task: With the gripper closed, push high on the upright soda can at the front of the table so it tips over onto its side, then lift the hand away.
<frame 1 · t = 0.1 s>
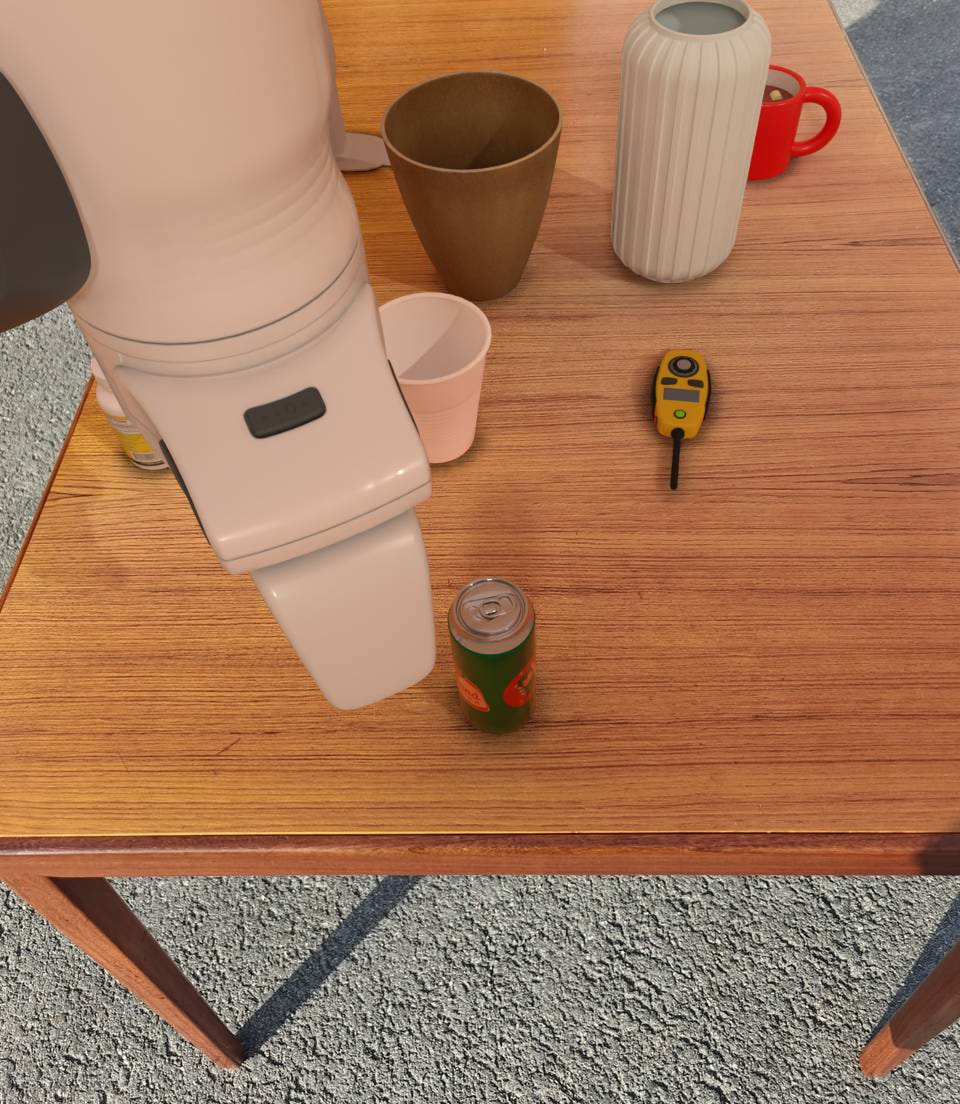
hand: (321, 569, 41), 23 cm above the table, tool pointing down, fingers open, 8 cm apart
pink piece: (345, 154, 102), on the table
soda can: (498, 705, 62), on the table
cup: (437, 440, 77), on the table
supplement bottle: (161, 449, 78), on the table
mug: (770, 160, 97), on the table
yellow walkie talkie: (677, 427, 76), on the table
plant pot: (481, 279, 88), on the table
vase: (669, 259, 89), on the table
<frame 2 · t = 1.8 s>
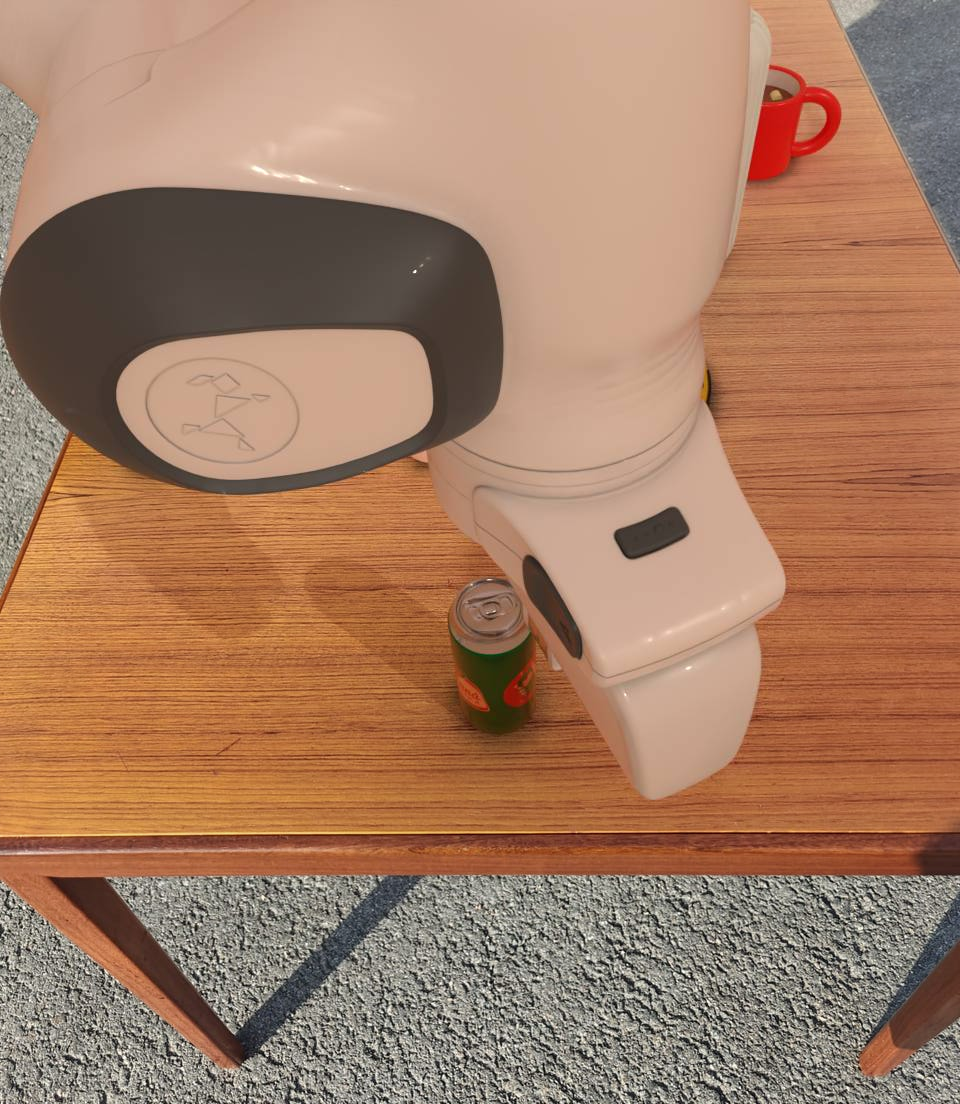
hand: (555, 640, 42), 20 cm above the table, tool pointing down, fingers closed
nothing on the table moved.
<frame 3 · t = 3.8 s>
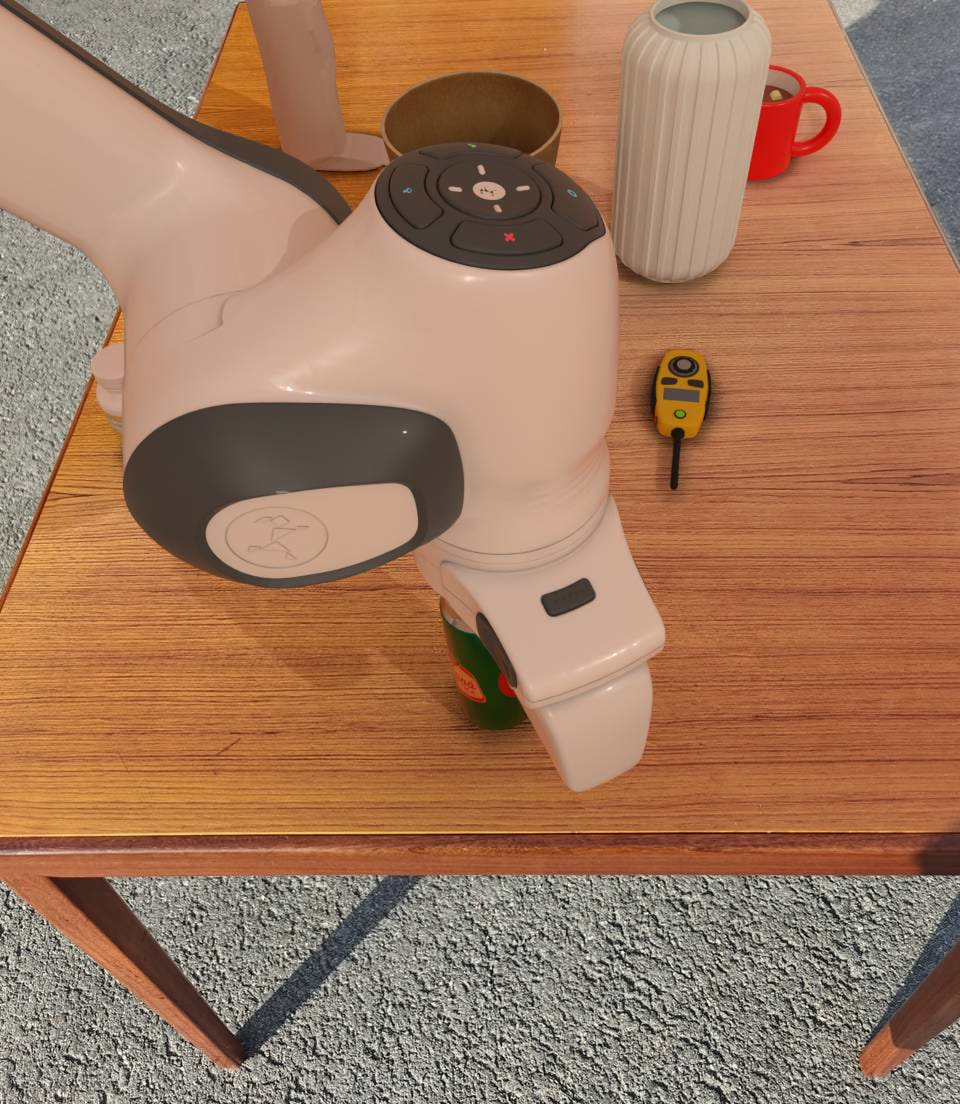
hand: (514, 665, 52), 10 cm above the table, tool pointing down, fingers closed
soda can: (498, 703, 62), on the table, touching gripper
everything else where it was.
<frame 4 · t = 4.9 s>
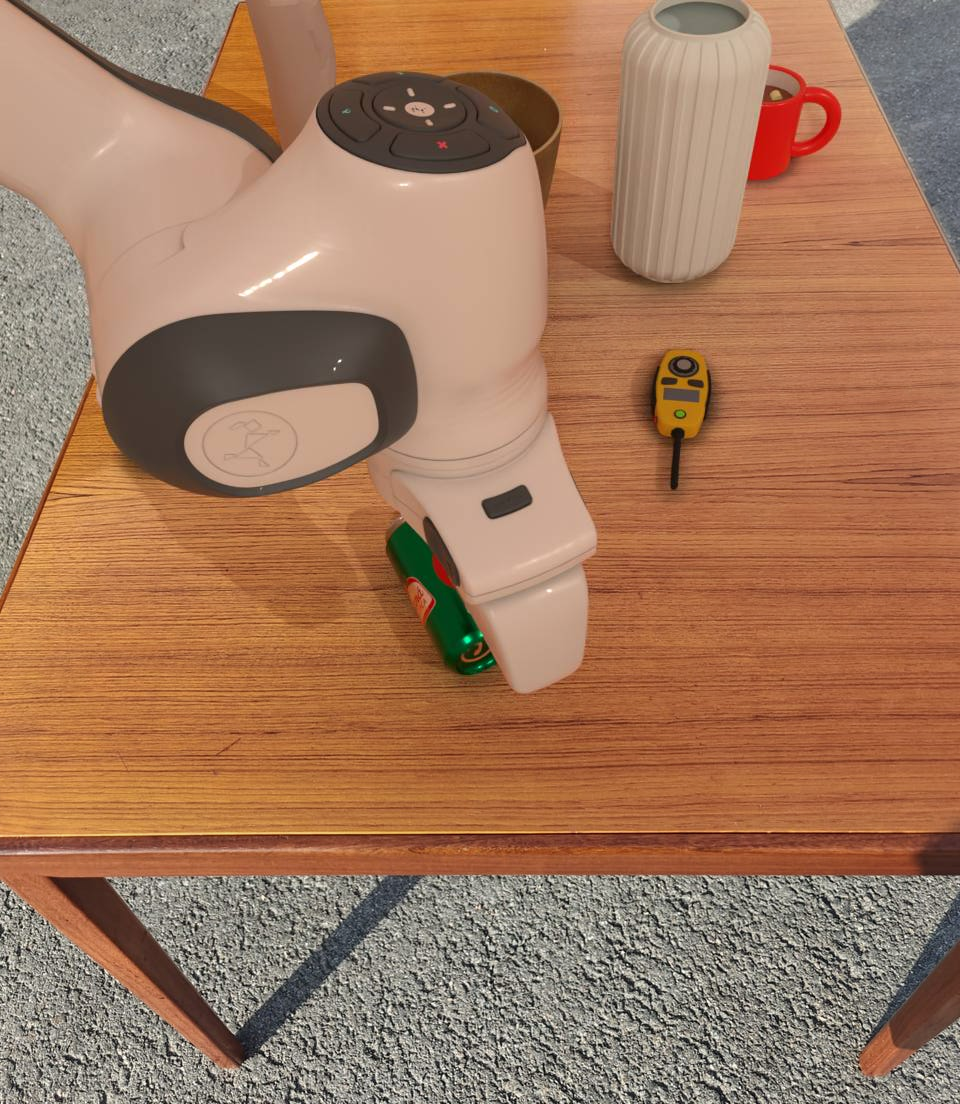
hand: (472, 592, 55), 10 cm above the table, tool pointing down, fingers closed
soda can: (483, 658, 61), point 3 cm above the table
everything else where it was.
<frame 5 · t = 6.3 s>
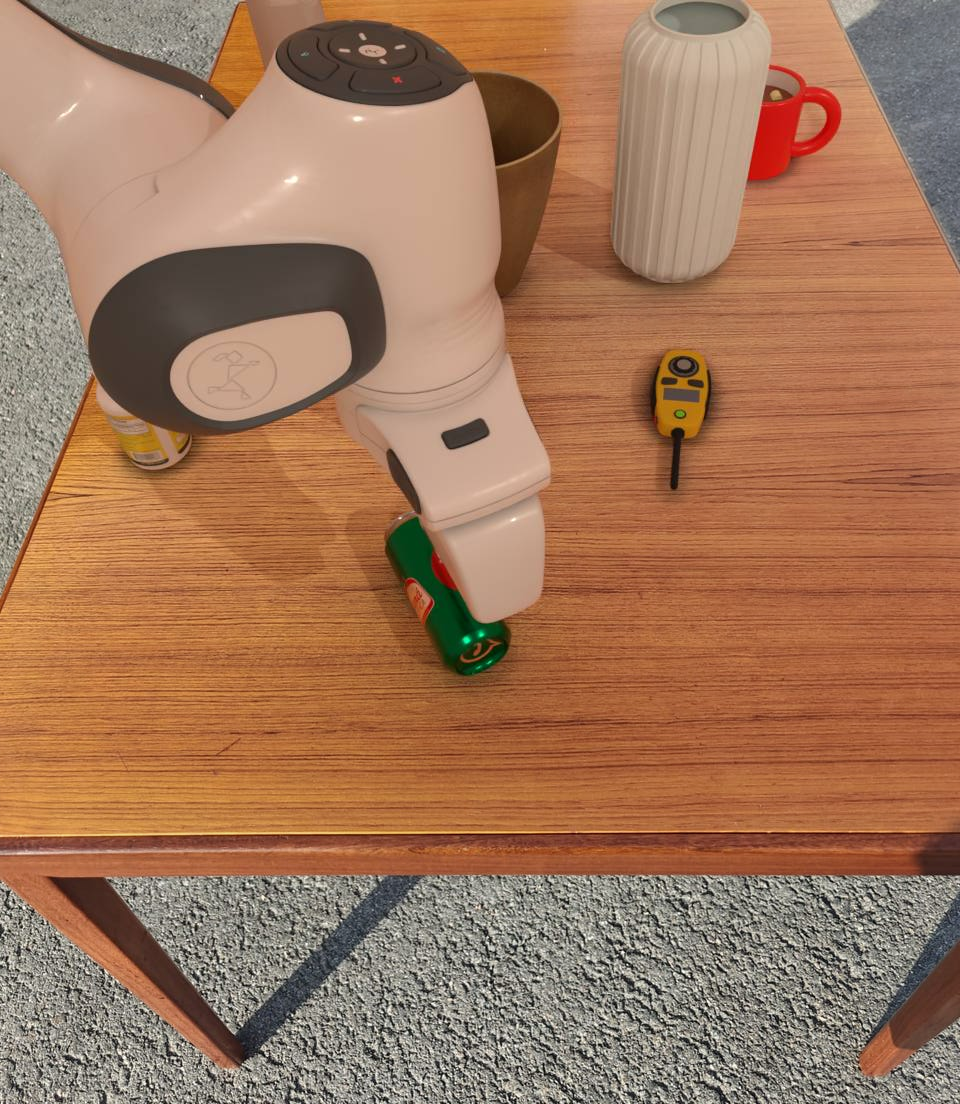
hand: (442, 539, 58), 10 cm above the table, tool pointing down, fingers closed
nothing on the table moved.
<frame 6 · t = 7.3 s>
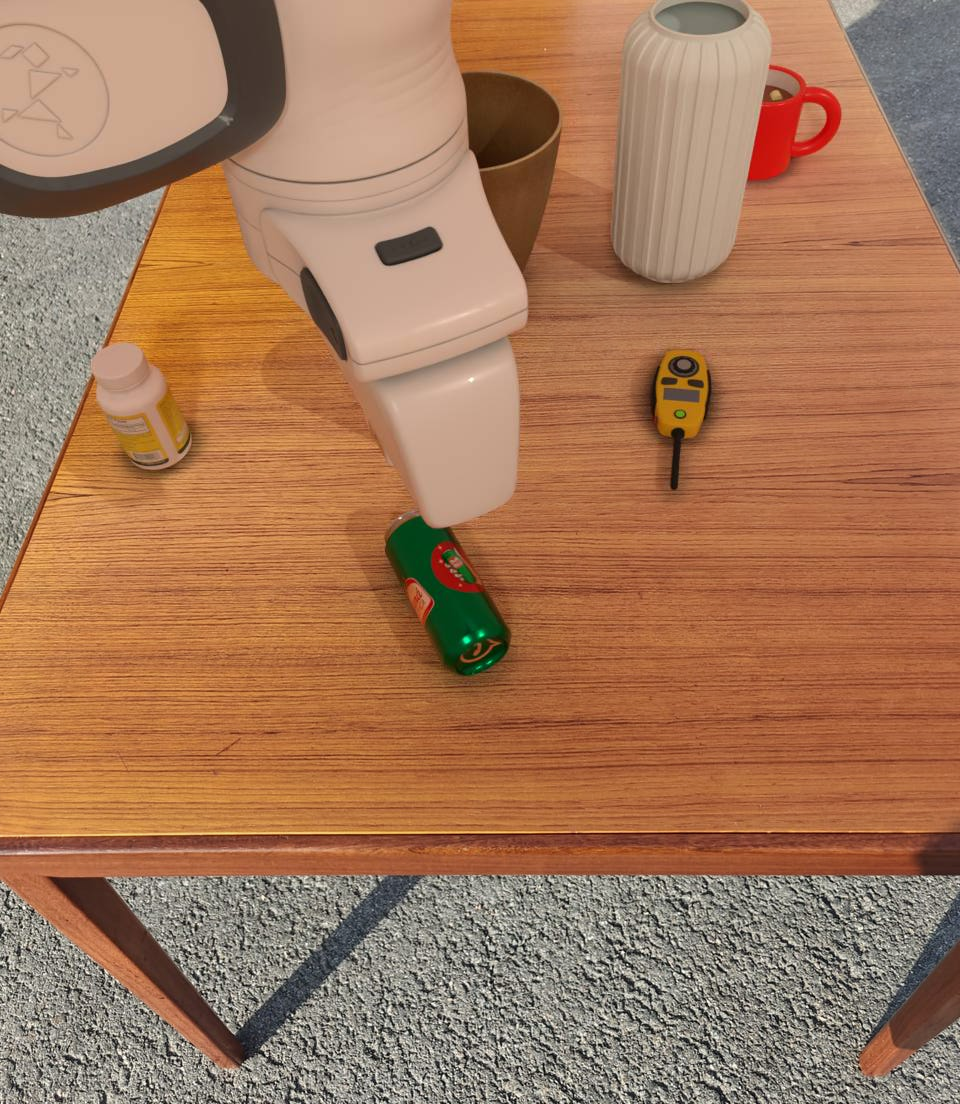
hand: (394, 443, 46), 23 cm above the table, tool pointing down, fingers closed
nothing on the table moved.
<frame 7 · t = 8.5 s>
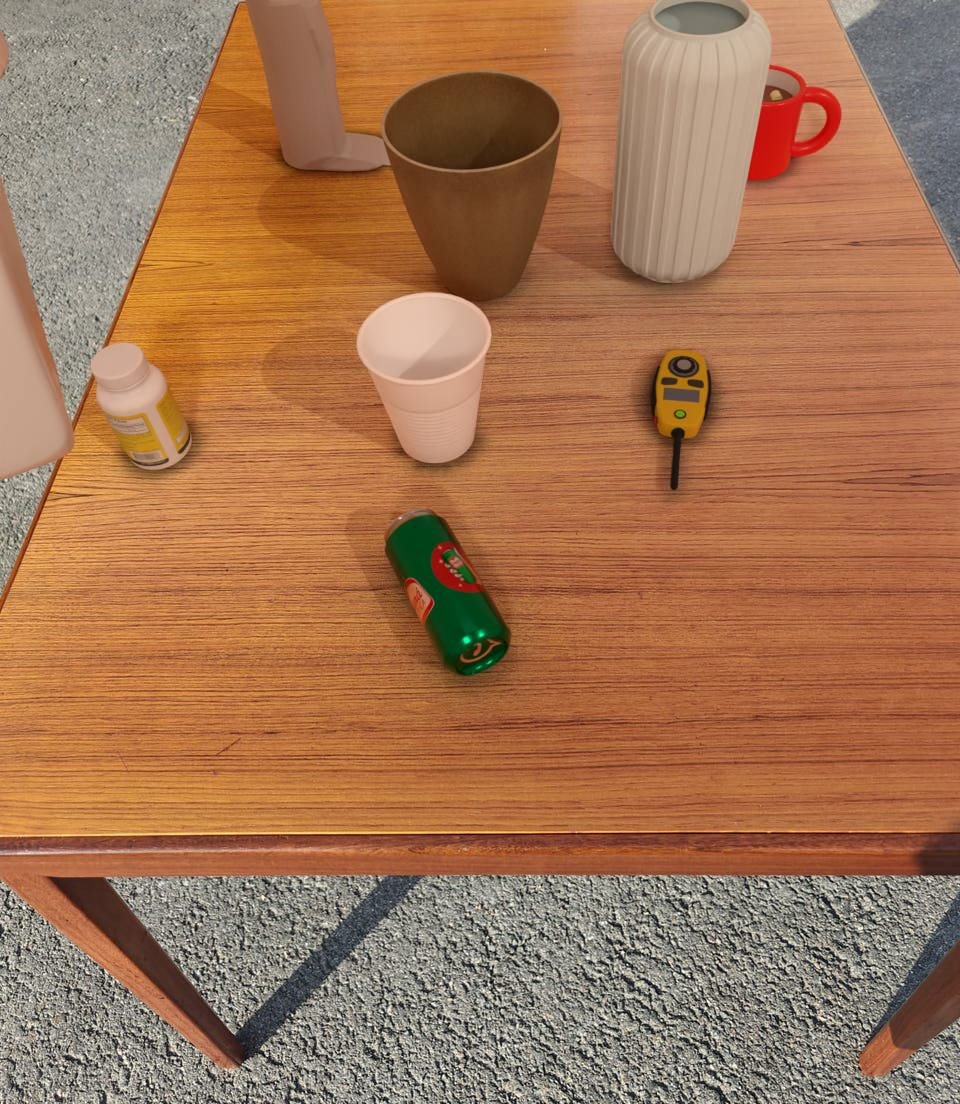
hand: (40, 391, 37), 31 cm above the table, tool pointing down, fingers closed
nothing on the table moved.
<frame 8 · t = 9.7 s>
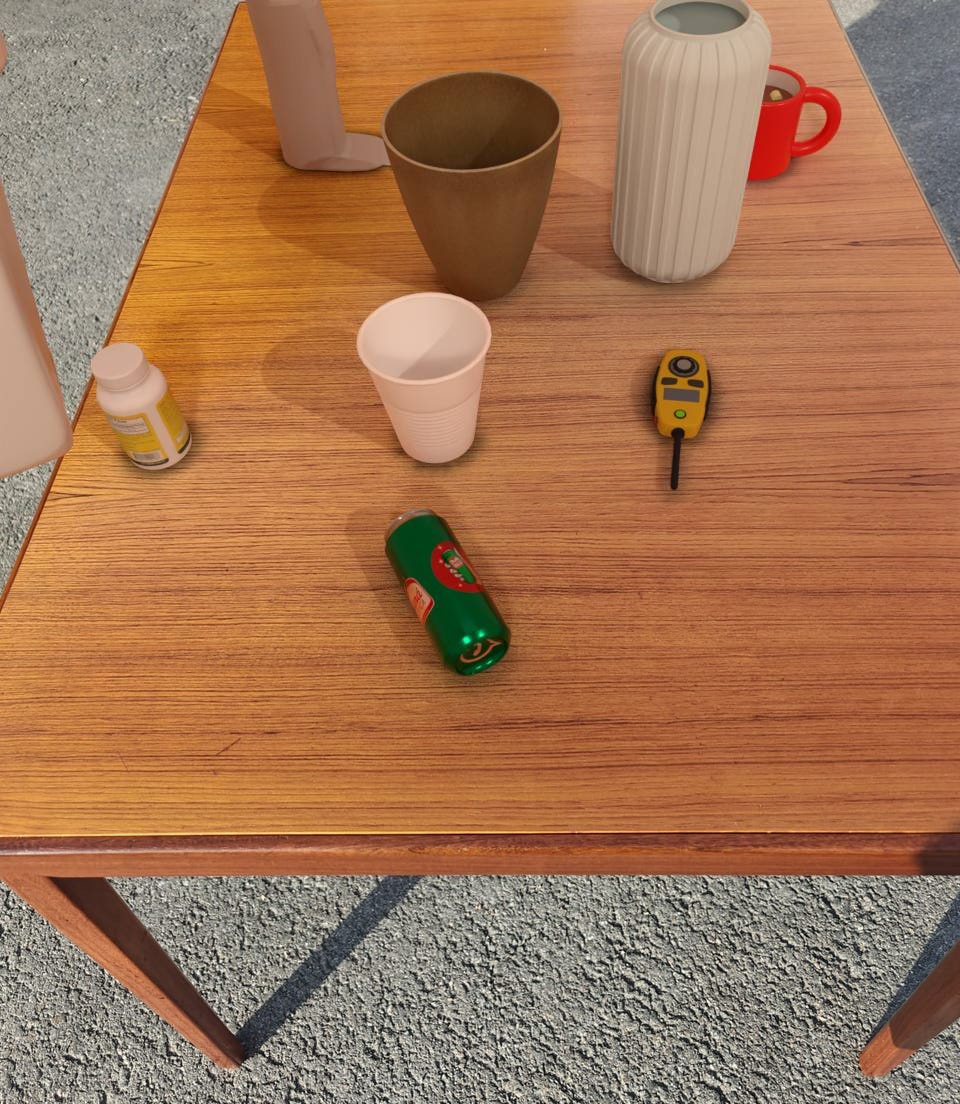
hand: (39, 390, 37), 31 cm above the table, tool pointing down, fingers closed
nothing on the table moved.
at the end: soda can tilted 90°; the gripper is holding nothing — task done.
